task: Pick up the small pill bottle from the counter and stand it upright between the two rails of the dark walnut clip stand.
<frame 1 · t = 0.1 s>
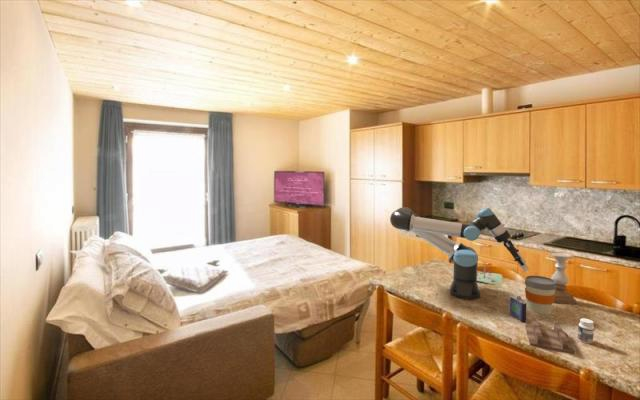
hand: (525, 266, 173), 15 cm above the table, tool tilted 35°, fingers open, 13 cm apart
pill bottle: (585, 341, 128), on the table
candle holder: (558, 299, 168), on the table
green board with pegs: (486, 278, 201), on the table
reusable coffee cup: (538, 310, 156), on the table
clip stand: (548, 339, 129), on the table
dark blue upright block: (517, 318, 148), on the table
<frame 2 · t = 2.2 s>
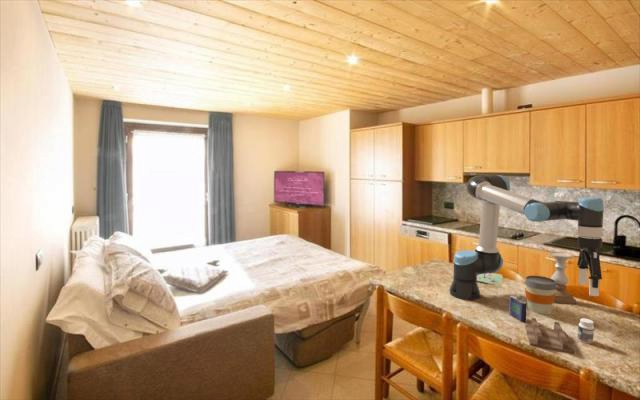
hand: (588, 289, 128), 20 cm above the table, tool pointing down, fingers open, 13 cm apart
nothing on the table moved.
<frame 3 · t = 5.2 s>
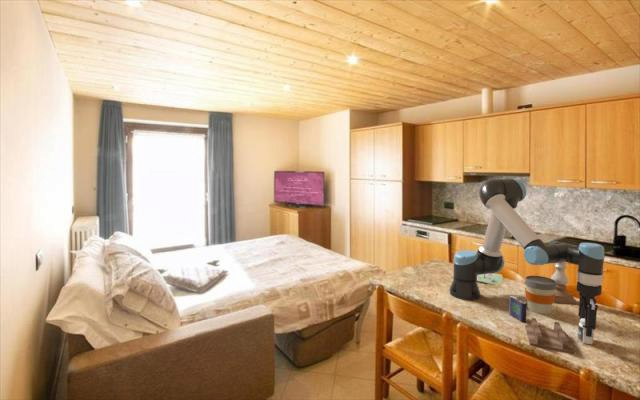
hand: (585, 339, 128), 0 cm above the table, tool pointing down, fingers closed on pill bottle, 5 cm apart
pill bottle: (585, 341, 128), on the table, touching gripper
everything else where it was.
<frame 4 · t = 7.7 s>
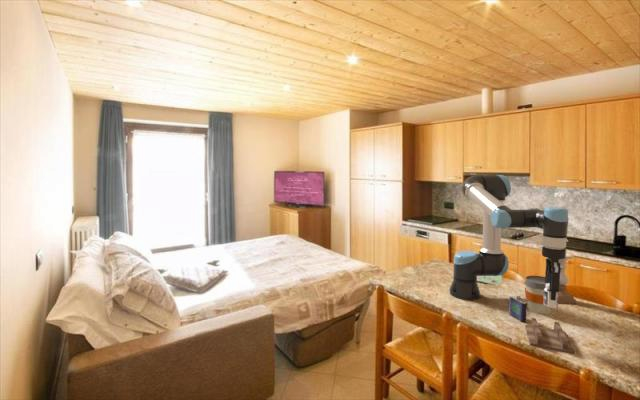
hand: (550, 304, 128), 15 cm above the table, tool pointing down, fingers closed on pill bottle, 5 cm apart
pill bottle: (550, 305, 128), point 14 cm above the table, touching gripper
everything else where it was.
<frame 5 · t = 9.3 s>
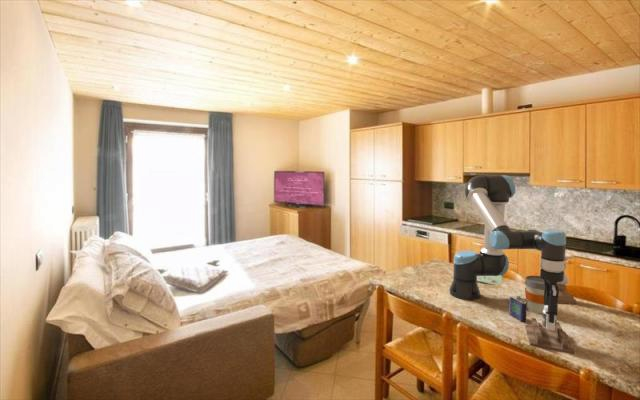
hand: (549, 326, 129), 5 cm above the table, tool pointing down, fingers closed on pill bottle, 5 cm apart
pill bottle: (548, 327, 129), point 5 cm above the table, touching gripper
everything else where it was.
when the fingers open (3 cm above the table, at t = 10.6 s): pill bottle drops 1 cm, resting on clip stand.
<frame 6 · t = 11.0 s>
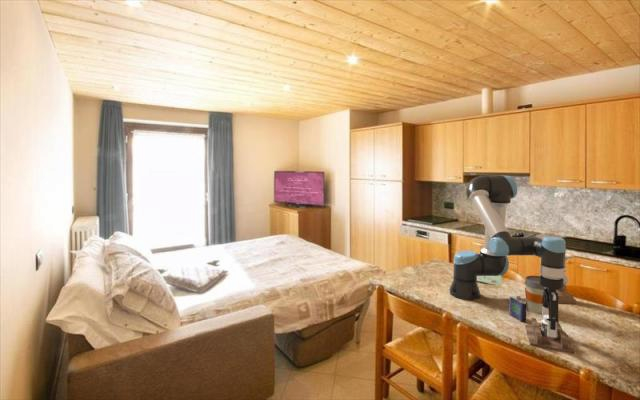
hand: (548, 329, 129), 4 cm above the table, tool pointing down, fingers open, 11 cm apart
pill bottle: (548, 337, 129), point 1 cm above the table, touching clip stand
everything else where it was.
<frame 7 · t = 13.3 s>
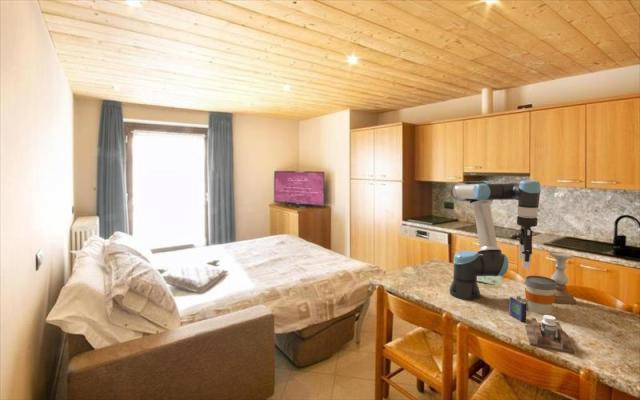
hand: (523, 263, 143), 26 cm above the table, tool pointing down, fingers open, 13 cm apart
nothing on the table moved.
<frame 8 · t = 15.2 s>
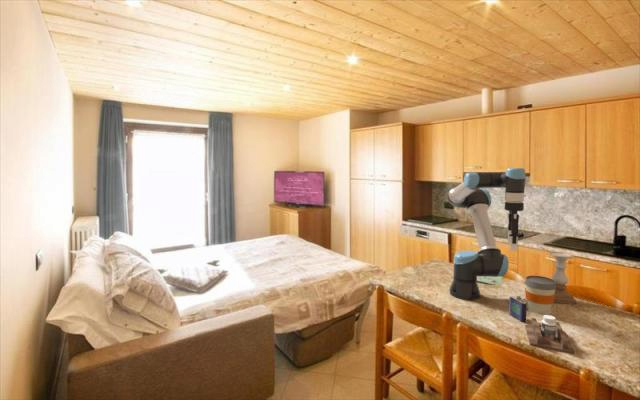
hand: (512, 247, 150), 32 cm above the table, tool pointing down, fingers open, 13 cm apart
nothing on the table moved.
at the end: pill bottle inside the target area on the clip stand (0.0 cm from its centre), point 0.8 cm above the clip stand's base; pill bottle tilted 0°; the gripper is holding nothing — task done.
